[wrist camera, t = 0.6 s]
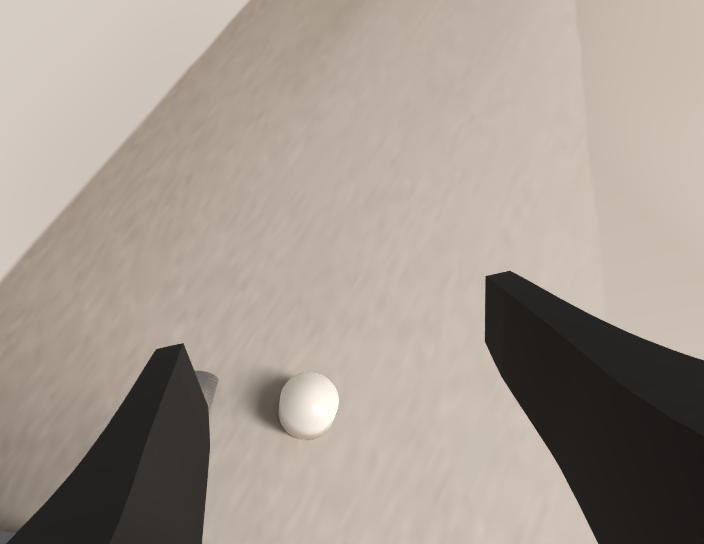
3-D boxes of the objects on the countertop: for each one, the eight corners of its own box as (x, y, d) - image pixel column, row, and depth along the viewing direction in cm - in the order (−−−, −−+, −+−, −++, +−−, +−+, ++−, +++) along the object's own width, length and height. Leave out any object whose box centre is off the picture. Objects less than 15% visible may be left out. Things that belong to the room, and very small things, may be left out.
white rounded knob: (329, 444, 30) (334, 433, 28) (273, 434, 30) (274, 422, 28) (337, 391, 32) (342, 378, 30) (284, 381, 32) (286, 367, 30)
